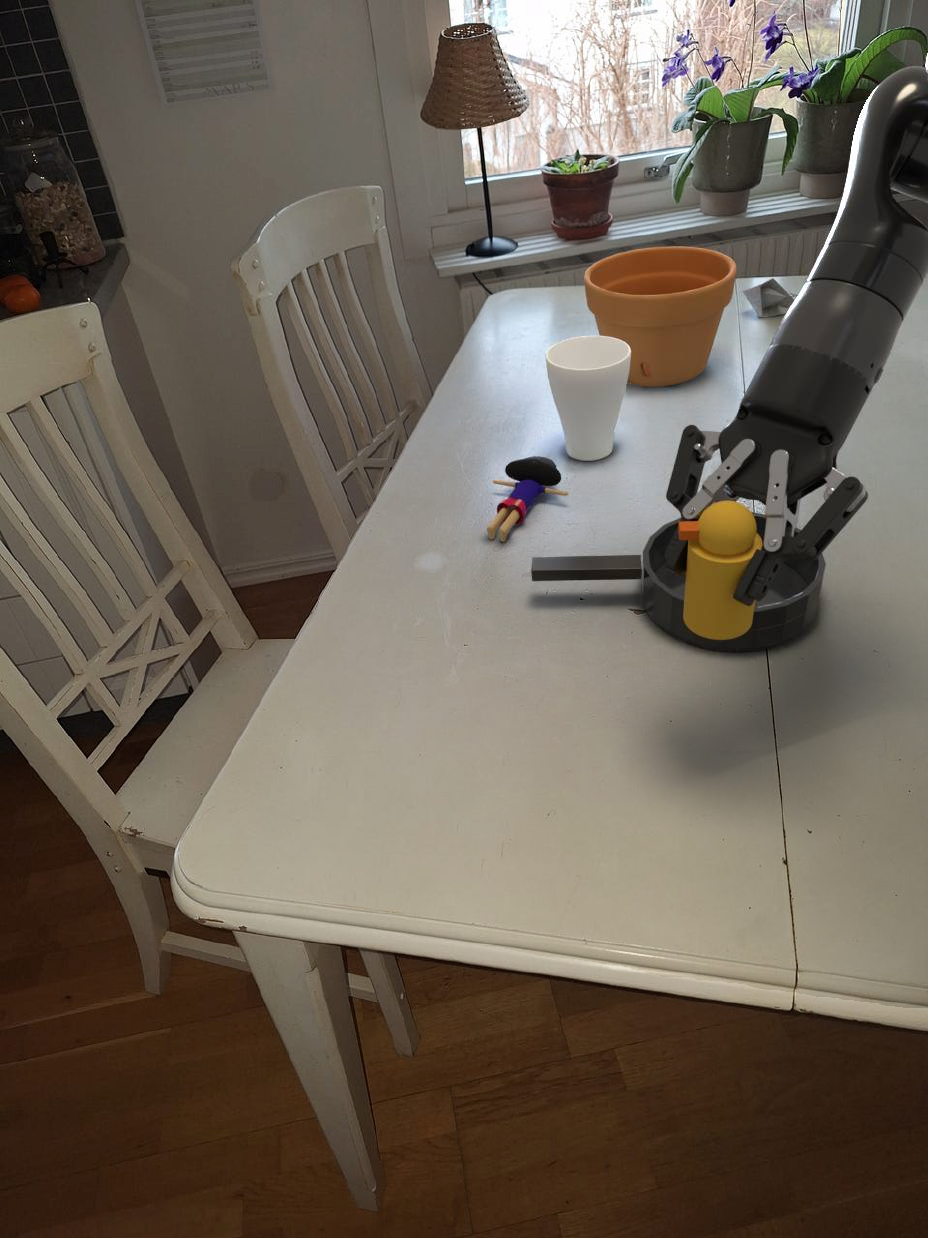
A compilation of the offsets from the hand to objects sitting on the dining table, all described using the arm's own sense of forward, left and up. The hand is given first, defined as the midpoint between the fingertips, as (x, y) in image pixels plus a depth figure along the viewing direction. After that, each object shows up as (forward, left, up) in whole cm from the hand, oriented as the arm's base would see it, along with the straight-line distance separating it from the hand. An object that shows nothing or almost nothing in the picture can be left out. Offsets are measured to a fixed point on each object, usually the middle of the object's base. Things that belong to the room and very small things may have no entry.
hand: (707, 586), depth 63 cm
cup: (+9, -54, -19) cm, 58 cm away
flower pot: (-1, -79, -19) cm, 81 cm away
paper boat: (-21, -97, -19) cm, 101 cm away
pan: (-5, -22, -18) cm, 29 cm away
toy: (+17, -40, -19) cm, 47 cm away
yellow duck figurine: (-1, -2, -4) cm, 5 cm away
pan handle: (+9, -22, -15) cm, 28 cm away
